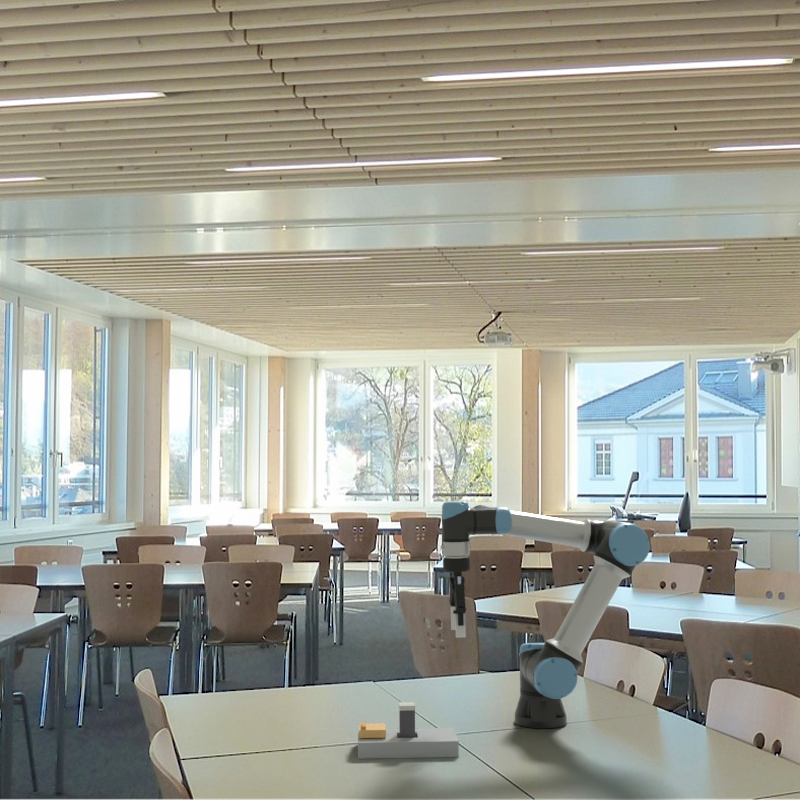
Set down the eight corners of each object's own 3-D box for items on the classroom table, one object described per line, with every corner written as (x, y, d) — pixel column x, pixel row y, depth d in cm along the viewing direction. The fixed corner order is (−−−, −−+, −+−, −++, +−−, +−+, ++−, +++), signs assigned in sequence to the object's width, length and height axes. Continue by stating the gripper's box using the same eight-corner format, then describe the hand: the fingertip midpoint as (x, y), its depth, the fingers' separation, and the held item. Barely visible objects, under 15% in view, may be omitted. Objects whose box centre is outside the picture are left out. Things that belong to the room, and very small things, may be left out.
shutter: (385, 731, 289) (385, 720, 290) (385, 737, 282) (385, 726, 283) (359, 731, 289) (359, 720, 289) (359, 738, 282) (359, 727, 282)
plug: (414, 748, 288) (414, 702, 289) (415, 752, 284) (415, 705, 285) (399, 748, 288) (398, 702, 289) (399, 752, 284) (399, 706, 284)
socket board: (454, 742, 293) (454, 727, 293) (458, 756, 279) (458, 741, 279) (358, 744, 292) (358, 729, 293) (357, 758, 278) (357, 742, 279)
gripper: (439, 553, 315) (441, 627, 314) (446, 561, 290) (448, 641, 289) (464, 552, 315) (466, 626, 314) (474, 560, 290) (476, 640, 289)
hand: (458, 633), depth 301 cm, fingers open, 13 cm apart
